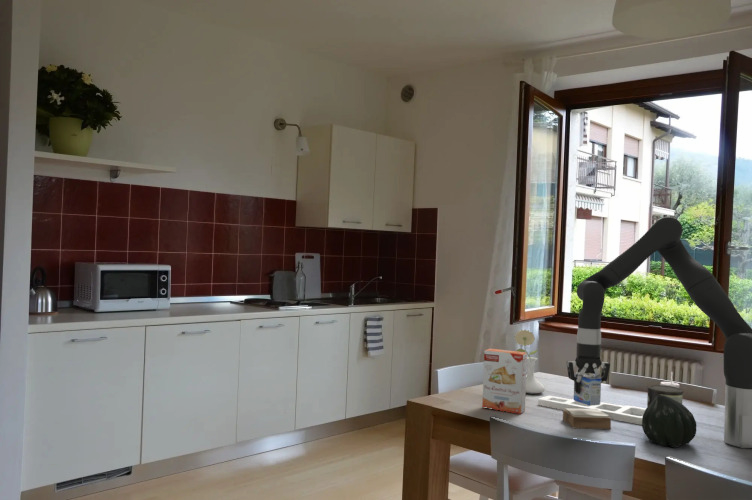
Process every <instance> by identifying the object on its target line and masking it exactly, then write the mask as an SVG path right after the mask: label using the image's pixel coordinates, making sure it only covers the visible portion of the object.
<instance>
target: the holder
mask: <svg viewBox="0 0 752 500" xmlns="http://www.w3.org/2000/svg"><path fill="white" fill-rule="evenodd" d="M537 405H538V406H541V405H542V407H546V406H547V408H551V407H552V408H553V409H556V408H557V410H562V411H563V410H565V408H572V409H598V410H600V411H601V412H603V413H605V414H606V415H608V416H609V417H610V418H611V420H613V421H614V420H615V421H621V422H625V423H631V424H635V425H636V424H637V425H641V426H642V417H643V414H644V412H645V410H646V408H647V407H640V406H634V405H627V404H626V405H620V404H614V403H609V402H603V401H600V405H592V406H590V405H587V404H583V403H580V402H577V401H574V398H572V399H571V398H565V397H560V396H554V395H545V396H543V397H539V398H538V399H537Z"/></svg>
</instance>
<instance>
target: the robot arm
mask: <svg viewBox="0 0 752 500" xmlns="http://www.w3.org/2000/svg"><path fill="white" fill-rule="evenodd" d="M682 236H683V226H682V222H681V221H680V220H678V219H677V218H676V217H671V216H663V217H661V218H658V219H657V220H656V221H655V222H654V223H653V224H652V225H651V227H650V228H649V229H648V230H647V231H646V232H645V234H643V235H642V236H641V237H640V238H639V239H638V240H637V241H635V243H633V244H632V245H631V246H630V247H628V248H627V249H626V250H625V251H623V252H622V253H620V254H619V255H618V256H617V257H615V258H614V259H613V260H611V261H610V262H609V263H608V264H606V265H605V266H603V268H602V269H600V270H598V271H597V272H595V273H594V274H591V275H590V276H588V277H587V278H586V279H583V281H581V282H580V283H579V284H578V286H577V288H576V295H577V298H578V299H579V300H581V301H582V307H581V310H580V311H579V313H578V321H577V324H578V326H577V333H576V354H575V355H576V358H575V360H573V361H572V360H571V361H570V360H567V361H566V369H567V376H568V379H570V380H571V381H573V392H574V391H576V393H577V394H580V380H581V378H582V377H583V375H584V374H592V377H596V378H600V379H601V383H603V382H607V381H608V377H609V371H610V368H611V364H610V362H607V361H602V360H601V359H602V358H601V356H602V355H601V354H602V351H601V350H602V331H601V330H602V329H601V327H602V326H601V323H602V311H603V308H604V303H605V295H606V294H605V291H606V290H608V289H610V288H614V287H616V286H618V285H619V284H620V283H622V282H623V281H624V280H626V279H627V278H628V277H629V276H631V275H632V274H633V273H635V271H636V270H637V269H638V268H639V267H640V266H641V265H642V264H643V263H644V262H646V260H647V259H648V258H650V257H651V256H652V255H653V254H654V253H655V252H658V254H659V255H660V256H661V258H663V259H664V261H665V262H666V263H667V264H668V266H669V267H670V268H671V270H672V271H673V273H674V274H675V276H676V278H677V280H678V281H679V282H680V284H681V285H682V286H683V288H684V290H685V293H687V295H688V296H689V298H690V299H691V301H692V302H693V303H694V304H695V305H696V307H697V308H698V309H699V310H700V311H702V313H704V315H706V316H707V317H708V318H709V320H711V321H712V322H714V324H715V325H716V326H717V327H718V328H719V330H720V331H721V332H722V334H723V336H724V337H725V339H726V340H725V342H724V346H723V375H724V379H725V391H724V392H725V393H724V421H723V422H724V424H723V425H724V426H723V428H724V433H723V442H724V443H726V444H728V445H731V446H735V447H739V448H741V449H752V327H751V326H750V325H749V324H748V323H747V321H746V320H745V319H744V318H743V316H742V315H741V314H740V313H739V312H738V310H737V309H736V306H735V304H733V302H732V300H731V299H730V298H729V295H728V294H727V293H726V292H725V290H724V288H723V287H722V285H721V284H720V283H719V282H718V280H717V279H716V277H715V276H714V275H713V273H712V272H711V271H710V270H709V269H708V268H707V267H706V266H704V265H702V263H700V262H699V261H697V260H696V259H695V258H694V257H693V256H692V255H691V254H690V253H689V251H688V250H687V248H686V246H685V245H684V243H683V242H682V240H681V238H682ZM575 367H577V370H576V372H575V370H574V368H575ZM600 367H601V369H602V370H601V374H600V372H599V369H600Z"/></svg>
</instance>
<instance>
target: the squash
mask: <svg viewBox="0 0 752 500" xmlns="http://www.w3.org/2000/svg"><path fill="white" fill-rule="evenodd" d="M645 408H646V410H645V412H644V414H643V417H642V425H641V427H642V430H643V433H644V435H645V436H646V437H647V439H648V440H649V441H650V442H652V443H654V444H658V445H660V446H663V447H668V446H669V447H672V448H678V447H680V446H681V445H683V446H684V445H688V444H689V443H691V441H692V440H693V439H694V438H695V437H696V435H697V421H696V418H695V416H694V415H693V413H692V412H691V411H690V410H689V409H688V408H687V407H686V406H685V405H684V404H683V403H682V404H681V403H680V402H678V401H676V400H674V399H672V398H670V397H667V396H664V395H660V394H659V395H658V396H657V397H656V398H655V399H654V401H653V402H652V403H651V404H650V405H649V406H648V407H645Z"/></svg>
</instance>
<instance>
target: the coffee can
mask: <svg viewBox="0 0 752 500" xmlns="http://www.w3.org/2000/svg"><path fill="white" fill-rule="evenodd" d="M646 388H647V399H646V400H647V401H646V404H647V405H646V406H647V407H648V406H649V405H650V404H651V403H652V402H653V401H654V399H655V398H656V397H657V396H658V395H659V394H660V395H664V396H667V397H670V398H672V399H674V400H676V401H678V402H680V403H681V404H683V397H684V390H683V389H682V388H680V387H679V388H677V387H673V386H666V385H660V384H649V385H648V386H647V387H646ZM647 407H646V408H647Z"/></svg>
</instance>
